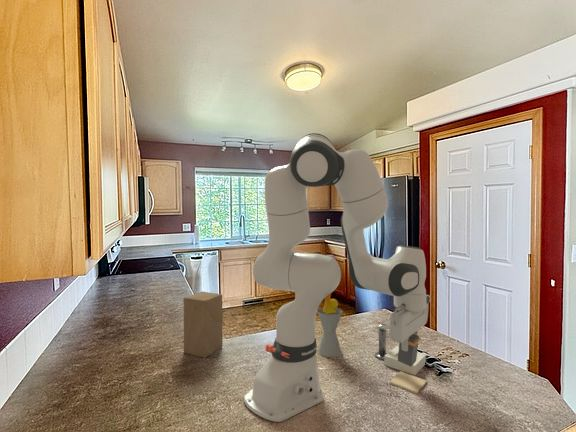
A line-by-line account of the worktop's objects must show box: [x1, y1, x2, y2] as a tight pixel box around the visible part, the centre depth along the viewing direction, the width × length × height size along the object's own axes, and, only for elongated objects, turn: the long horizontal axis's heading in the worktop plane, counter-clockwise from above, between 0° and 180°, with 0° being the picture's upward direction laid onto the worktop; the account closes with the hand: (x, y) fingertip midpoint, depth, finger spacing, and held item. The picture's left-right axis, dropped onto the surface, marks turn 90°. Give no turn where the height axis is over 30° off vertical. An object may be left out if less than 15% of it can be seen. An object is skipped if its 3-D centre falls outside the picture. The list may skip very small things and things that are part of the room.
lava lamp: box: [317, 254, 343, 358], centre depth 112 cm, size 9×9×35 cm
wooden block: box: [183, 291, 223, 359], centre depth 113 cm, size 10×10×20 cm
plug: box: [398, 334, 422, 367], centre depth 92 cm, size 5×5×8 cm
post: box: [374, 329, 388, 361], centre depth 108 cm, size 5×5×10 cm
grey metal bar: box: [377, 319, 390, 331], centre depth 112 cm, size 15×3×2 cm, turn 135°
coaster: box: [389, 370, 428, 395], centre depth 92 cm, size 8×8×1 cm
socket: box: [383, 345, 427, 376], centre depth 103 cm, size 10×10×3 cm
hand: (409, 346), depth 91 cm, fingers closed on plug, 4 cm apart
